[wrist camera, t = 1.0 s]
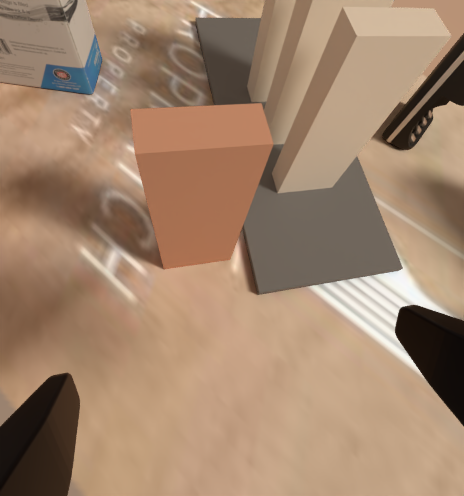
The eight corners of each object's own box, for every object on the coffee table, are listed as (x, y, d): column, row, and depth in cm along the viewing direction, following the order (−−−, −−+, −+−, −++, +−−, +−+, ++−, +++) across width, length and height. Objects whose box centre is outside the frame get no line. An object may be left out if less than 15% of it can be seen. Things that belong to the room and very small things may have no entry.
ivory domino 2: (315, 141, 28) (410, -29, 16) (264, 145, 27) (323, -33, 15) (309, 124, 29) (396, -51, 17) (258, 127, 28) (312, -56, 16)
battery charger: (410, 162, 29) (534, 47, 19) (377, 139, 30) (479, 15, 19) (437, 122, 32) (559, 2, 21) (406, 102, 32) (510, -25, 22)
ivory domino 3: (332, 187, 26) (451, 36, 14) (277, 193, 25) (356, 36, 13) (325, 168, 27) (433, 8, 15) (271, 173, 26) (342, 6, 14)
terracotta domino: (230, 259, 23) (273, 143, 11) (164, 269, 22) (135, 153, 10) (225, 235, 24) (261, 103, 12) (160, 244, 23) (130, 109, 11)
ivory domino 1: (300, 99, 30) (376, -82, 18) (251, 102, 29) (296, -89, 17) (295, 84, 30) (364, -100, 18) (247, 86, 29) (287, -108, 17)
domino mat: (398, 270, 25) (402, 268, 24) (257, 294, 23) (259, 292, 22) (299, 24, 35) (301, 18, 34) (195, 23, 33) (195, 17, 32)
